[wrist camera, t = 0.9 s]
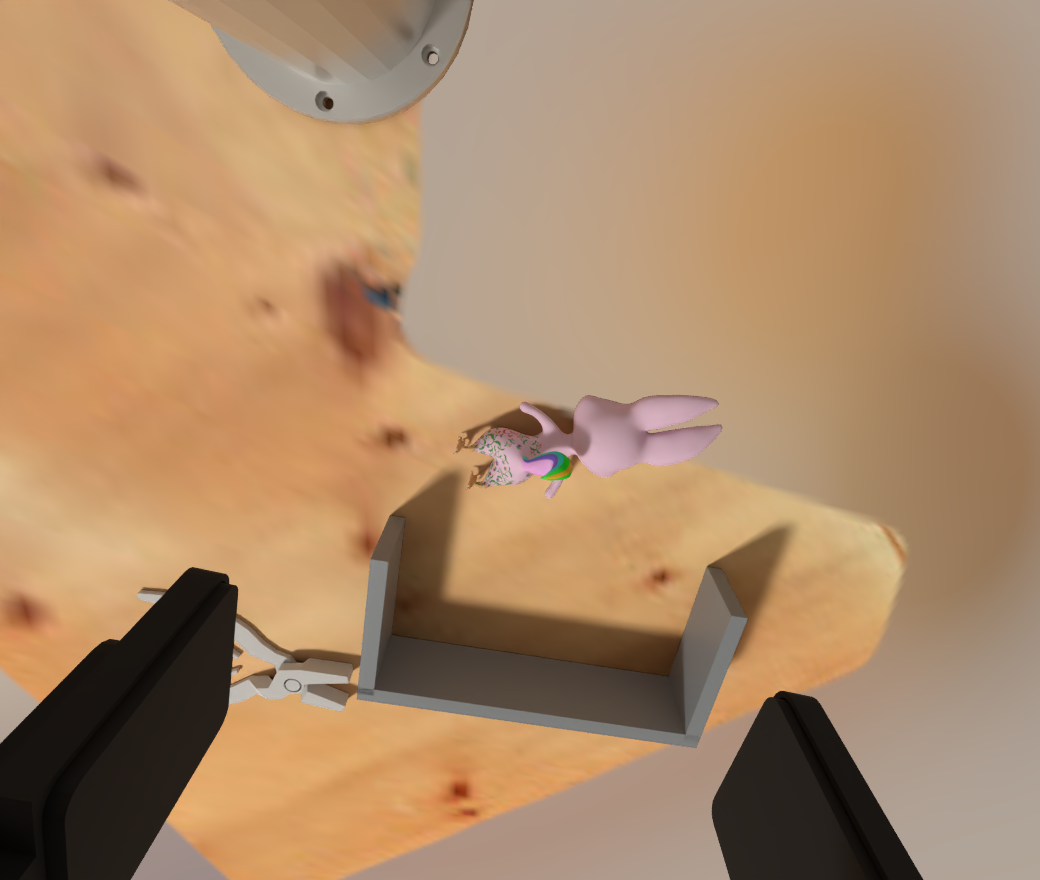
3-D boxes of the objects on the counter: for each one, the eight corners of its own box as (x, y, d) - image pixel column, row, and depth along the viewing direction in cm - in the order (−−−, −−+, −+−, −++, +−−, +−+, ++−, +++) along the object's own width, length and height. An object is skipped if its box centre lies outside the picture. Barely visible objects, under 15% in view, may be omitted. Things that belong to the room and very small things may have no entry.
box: (389, 515, 38) (370, 559, 33) (721, 568, 39) (747, 618, 34) (375, 643, 42) (356, 699, 37) (677, 689, 43) (696, 748, 38)
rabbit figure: (486, 491, 39) (723, 452, 35) (463, 542, 33) (740, 503, 29) (457, 404, 36) (708, 352, 32) (427, 444, 31) (723, 387, 27)
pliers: (129, 598, 39) (355, 641, 40) (143, 584, 40) (361, 626, 41) (131, 708, 43) (338, 744, 44) (144, 691, 44) (344, 727, 45)
